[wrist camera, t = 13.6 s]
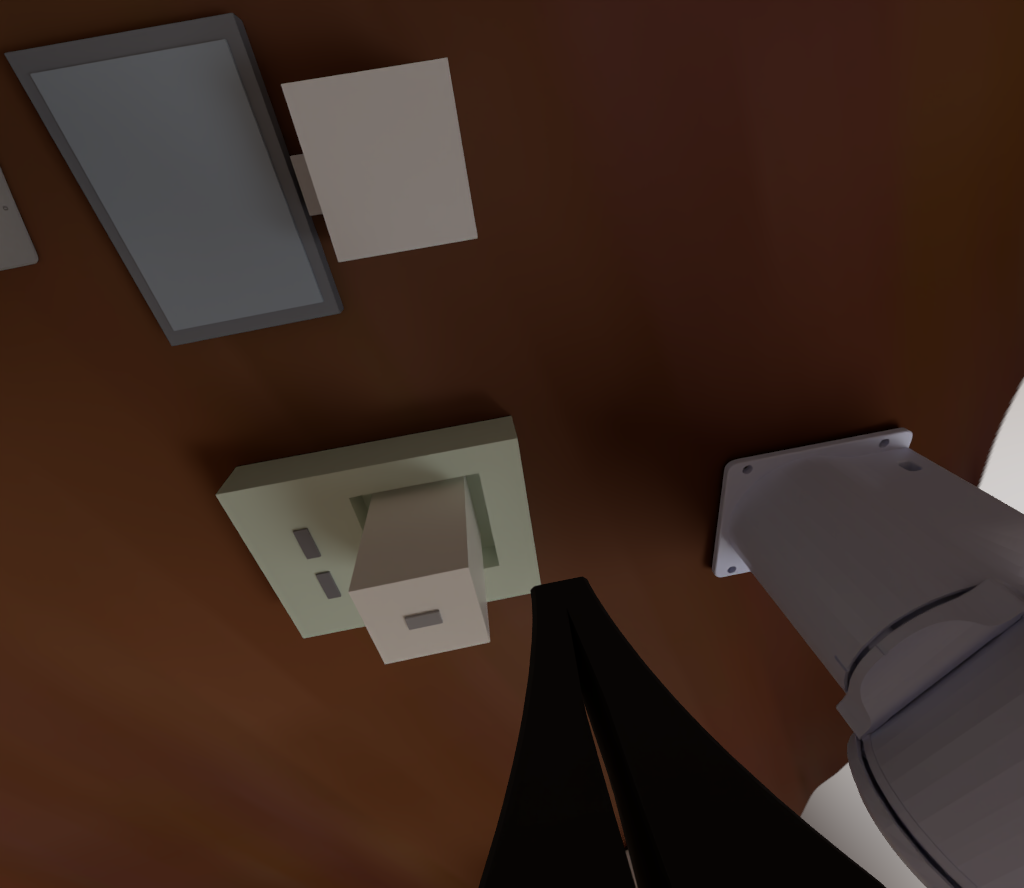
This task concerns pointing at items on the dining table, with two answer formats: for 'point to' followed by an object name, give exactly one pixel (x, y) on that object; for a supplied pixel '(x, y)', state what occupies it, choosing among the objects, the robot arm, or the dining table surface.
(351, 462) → the outlet plate
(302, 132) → the cable plug
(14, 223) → the coffee box
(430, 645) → the charger
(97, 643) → the dining table surface
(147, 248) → the phone
